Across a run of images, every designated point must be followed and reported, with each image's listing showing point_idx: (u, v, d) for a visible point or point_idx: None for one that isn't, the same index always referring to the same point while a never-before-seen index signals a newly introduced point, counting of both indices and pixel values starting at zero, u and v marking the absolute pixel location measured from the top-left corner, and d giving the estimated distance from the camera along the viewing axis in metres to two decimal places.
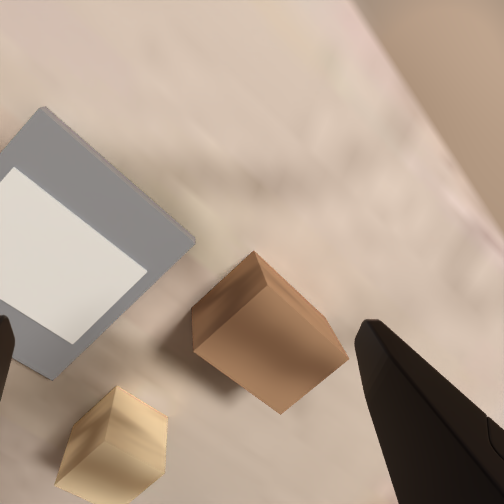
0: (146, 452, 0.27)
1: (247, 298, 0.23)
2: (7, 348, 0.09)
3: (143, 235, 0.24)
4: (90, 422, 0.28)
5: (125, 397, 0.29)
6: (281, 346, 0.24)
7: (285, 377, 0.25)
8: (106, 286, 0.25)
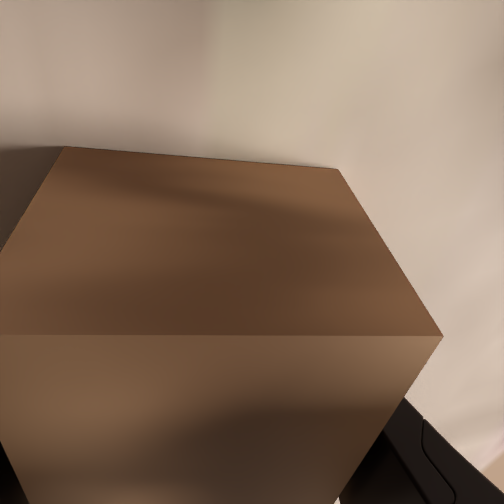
0: None
1: (330, 312, 0.05)
2: None
3: None
4: None
5: None
6: (240, 473, 0.07)
7: None
8: None
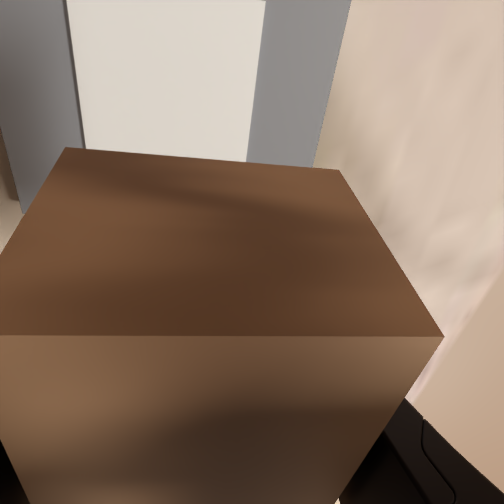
0: None
1: (331, 313, 0.05)
2: None
3: None
4: None
5: None
6: (241, 473, 0.07)
7: None
8: None
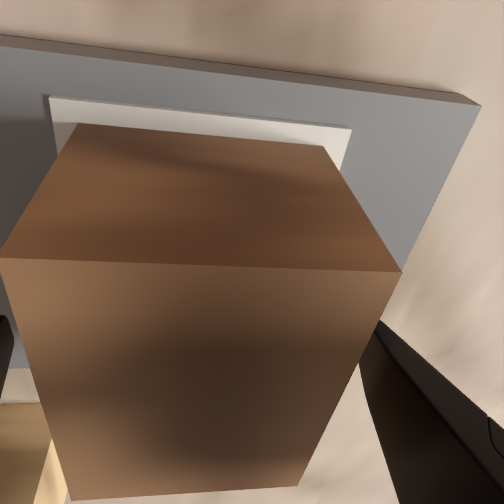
0: None
1: (307, 253, 0.07)
2: (6, 348, 0.09)
3: None
4: None
5: None
6: (233, 406, 0.08)
7: (164, 456, 0.09)
8: None
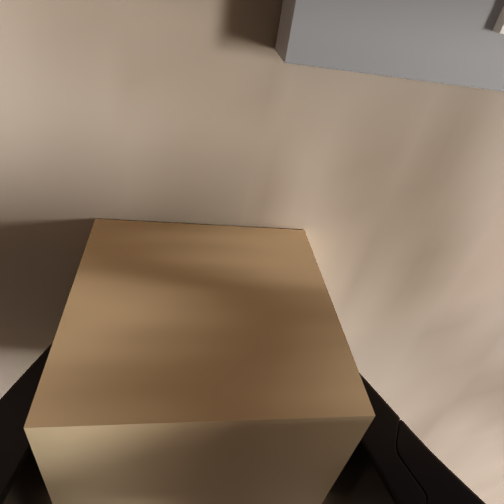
0: None
1: None
2: None
3: None
4: (209, 271, 0.08)
5: None
6: None
7: None
8: None
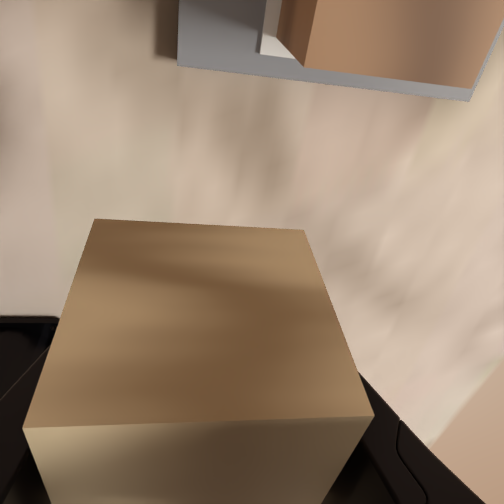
0: None
1: None
2: None
3: None
4: (209, 271, 0.08)
5: None
6: None
7: None
8: None
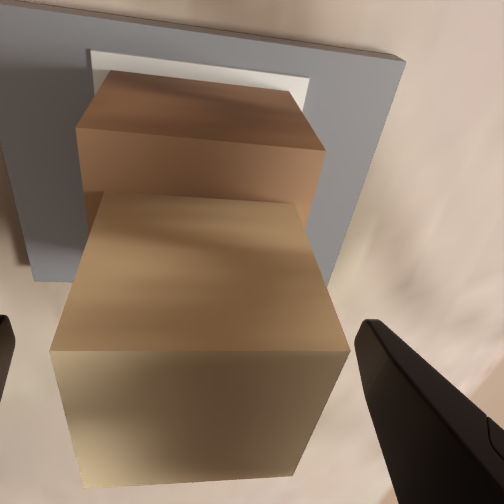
0: None
1: (265, 139, 0.10)
2: (7, 348, 0.09)
3: None
4: (207, 236, 0.09)
5: None
6: None
7: None
8: None
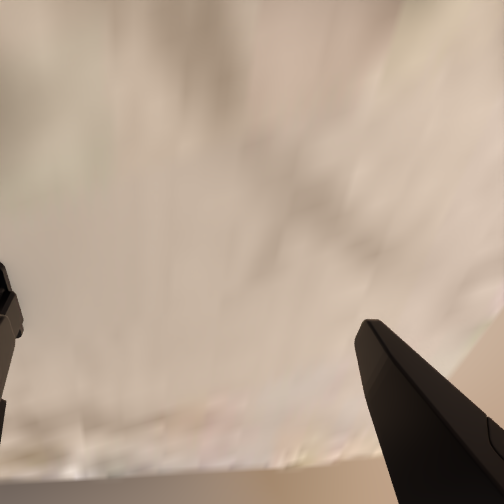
0: None
1: None
2: (7, 348, 0.09)
3: None
4: None
5: None
6: None
7: None
8: None
